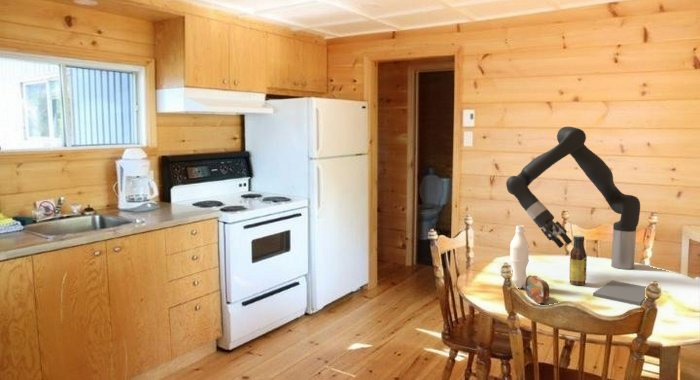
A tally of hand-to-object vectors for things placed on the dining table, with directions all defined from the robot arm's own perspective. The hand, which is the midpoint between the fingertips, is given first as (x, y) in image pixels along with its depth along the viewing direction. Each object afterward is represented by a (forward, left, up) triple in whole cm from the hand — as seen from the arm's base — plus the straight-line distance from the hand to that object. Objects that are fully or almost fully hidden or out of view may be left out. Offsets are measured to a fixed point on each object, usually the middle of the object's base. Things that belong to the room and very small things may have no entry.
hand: (566, 244), depth 212 cm
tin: (+30, +1, -16) cm, 34 cm away
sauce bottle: (0, +5, -16) cm, 17 cm away
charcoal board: (+1, +23, -16) cm, 28 cm away
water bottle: (+20, -11, -16) cm, 28 cm away
